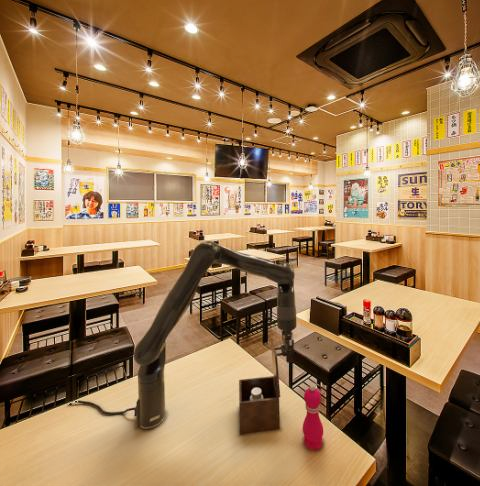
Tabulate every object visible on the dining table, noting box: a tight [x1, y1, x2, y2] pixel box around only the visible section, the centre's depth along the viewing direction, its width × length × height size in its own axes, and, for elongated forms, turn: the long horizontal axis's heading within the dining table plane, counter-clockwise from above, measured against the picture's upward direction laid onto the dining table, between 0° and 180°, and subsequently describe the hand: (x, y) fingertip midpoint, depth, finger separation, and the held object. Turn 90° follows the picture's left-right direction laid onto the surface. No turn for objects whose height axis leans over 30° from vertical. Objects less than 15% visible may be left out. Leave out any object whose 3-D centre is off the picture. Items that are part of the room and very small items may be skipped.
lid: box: [270, 338, 286, 398], centre depth 100 cm, size 15×13×5 cm
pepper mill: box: [302, 384, 324, 451], centre depth 89 cm, size 7×7×20 cm
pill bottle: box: [250, 388, 263, 401], centre depth 100 cm, size 5×5×10 cm
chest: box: [238, 375, 281, 436], centre depth 100 cm, size 15×13×12 cm
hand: (287, 357), depth 101 cm, fingers closed on lid, 5 cm apart
